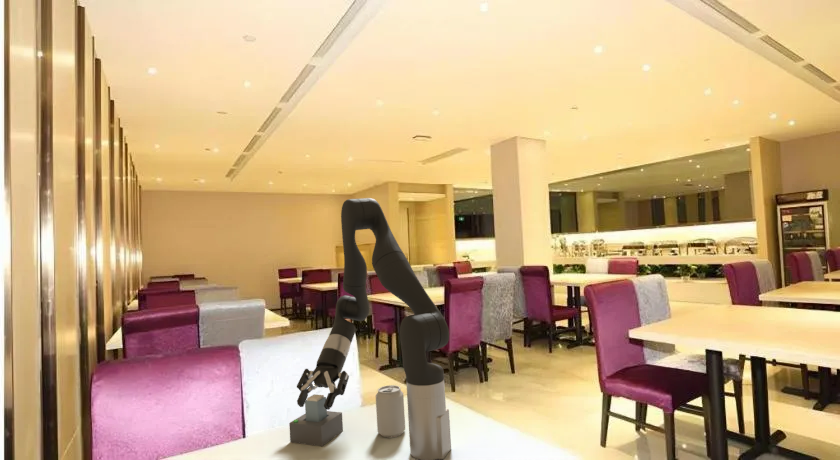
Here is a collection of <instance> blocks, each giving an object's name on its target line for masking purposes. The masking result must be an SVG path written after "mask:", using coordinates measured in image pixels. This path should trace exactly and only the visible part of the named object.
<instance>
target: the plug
mask: <svg viewBox="0 0 840 460" xmlns="http://www.w3.org/2000/svg"><path fill="white" fill-rule="evenodd" d="M326 398H327V396H324V394H312V395H311V396H308V397H307V399H306V401H305V404H304V406H305V407H304V408H305V409H304V410H305V411H304V412H305V413H306V421H313V422H320V421H321V420H323V419H324V418H326V417H327V411H328V410H327V409H326V408H325V407H324V404H325V401H326Z"/></svg>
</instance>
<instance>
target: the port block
mask: <svg viewBox="0 0 840 460" xmlns="http://www.w3.org/2000/svg"><path fill="white" fill-rule="evenodd" d="M343 431H344V424H343V412H341V411H331V410H327V417H326V418H324V419H323V420H321V421H320V422H313V421H306V412H305V413H303V414H302V415H300V416H298V417H296V418H295V419H294V420H292V421H290V422H289V441H290V442H289V443H296V444H303V445H309V446H316V447H323V446H325V445H326V444H328V443H329V442H330V441H332V440H333V439H334V438H335V437H337V436H338V435H340V434H341V433H342V432H343Z"/></svg>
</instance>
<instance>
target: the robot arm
mask: <svg viewBox="0 0 840 460" xmlns="http://www.w3.org/2000/svg"><path fill="white" fill-rule="evenodd" d="M341 205H342V206H341V210H340V211H341V213H340V217H341V218H340V221H341V233H342V234H341V235H342V238H341V239H342V248H343V255H344V256H343V262H344V265H343V266H344V267H343V280H342V281H343V282H342V288H343V291H344V292H345V293H346V294H347V293H348V294H349V295H341V296H340V297H339V298H338V299H337V301H336V304H335V313H334V322H333V325H332V327H331V330H330V332H329V334H328V337H327V339H326V340H325V342H324V345H323V346H322V349H321V351H320V354H319V357H318V359H317V361H316V366H315V368H314V370H309V368H304V371H303V372H302V374H301V377H300V378H299V381H298V383H297V384H296V388H297V389H298V390H299V392H300V393H299V395H298V398H297V400H296V402H297V406H299V407H300V408H304V406H305V401H306V400H307V398H308V397H309V396H308V395H309V394H310V393H311V392H313V391H314V390H316V389H317V388H325V389H329V392H328V393H327V396H326V401H325V404H324V407H325V408H326V409H327V411H330V409H331V408H332V407H333V405H334V402H335V399H336V397H338V396H339V395H340V396H344V394H345V391H346V388H347V384H348V381H349V378H350V375H349V374H348V373H347V371H346V370H343V368H344V365H345V363H346V360H347V357H348V356H349V351H350V347H351V345H352V342H353V339H354V338H355V334H356V331H357V329H356V326H355V324H354V323H352V322H351V321H350V320H353V321H357V322H364V321H365V320H366V319H367V317H368V316H369V314H370V302H369V297H368V294H367V292H368V291H367V287H366V286H367V275H368V274H367V273H368V267H367V263H366V260H365V258H364V255H363V254H362V252H361V251H360V249H359V247H358V244H357V242H356V231H363V230H370V231H371V232H372V233H373V235H374V237H375V242H374V248H373V251H372V255H371V266H372V268H373V270H374V272H375V274H376V276H377V278H378V280H379V282H380V284H381V285H382V286H383V287H384V288H385V290H387V291H388V292H389V293H390V294H392V295H393V296H395V297H396V298H398V299H399V300H401V301H402V302H403V303H404V304H406V305H407V306H408V307H409V309H410V310H411V312H413V314H410V315H407V316H405V317H404V318H403V319H402V320H401V322H400V325H399V326H400V327H399V340H400V350H401V355H402V356H401V358H402V359H401V360H402V365H403V366H402V367H403V371H404V373H405V381H406V398H407V399H406V400H407V402H406V403H407V419H408V420H407V421H408V432H409V433H408V434H409V435H408V436H409V447H410V449H409V450H410V451H409V452H410V455H411V457H413V458H415V459H417V460H444V459H445V457H447V455H448V453H449V452H450V451H451V449H452V439H451V425H450V423H451V421H450V410H449V408H447V405H446V404H447V403H446V402H447V401H446V390H445V373H444V368H443V367H442V366H441V365H440V364H437V363H433V362H428V359H427V352H431V351H436V350H439V349H442V348H444V347H446V345H448V343H449V340H450V332H449V331H450V330H449V329H450V328H449V326H448V324H447V322H446V319H445V318H444V316H443V314H442V313H441V311H440V310H439V308H438V307H437V305H435V303H434V301H433V300H432V299H431V297H430V295H428V293H427V292H426V290H425V288H424V286H423V285H422V283H421V282H420V280H419V278H418V277H417V276H416V274H415V271H414V270H413V268H412V266H411V264H410V262H409V260H408V258H407V256H406V255H405V253H404V252H403V250H402V248H401V247H400V245H399V244H398V241H397V240H396V237H395V236H394V234H393V231H392V230H391V228H390V226H389V223H388V221H387V218H386V215H385V213H384V212H383V208H382V207H381V205H380V203H379V202H378V201H377V200H376V199H375V198H371V197H364V198H350V199H346V200H344V202H343V203H342V204H341ZM347 319H348V320H347ZM337 381H338V383H337V385H336V382H337Z"/></svg>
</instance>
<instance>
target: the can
mask: <svg viewBox="0 0 840 460" xmlns="http://www.w3.org/2000/svg"><path fill="white" fill-rule="evenodd" d="M401 389H402V388H401V387H400V386H399V385H396V384H395V385H394V384H393V385H392V384H391V385H390V384H389V385H383V386H381V387H379V388H377V392H376V394H375V409H376V426H377V427H376V428H377V429H376V430H377V433H378V434H379V435H381V436H382V437H383V438H388V439H389V438H396V437H399V436H402V434H403V433H404V431H405V430H406V416H405V400H404V392H403V391H402V390H401Z"/></svg>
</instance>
